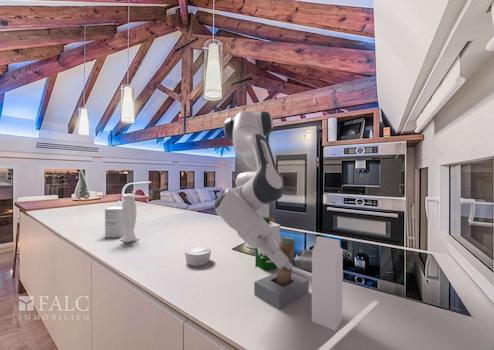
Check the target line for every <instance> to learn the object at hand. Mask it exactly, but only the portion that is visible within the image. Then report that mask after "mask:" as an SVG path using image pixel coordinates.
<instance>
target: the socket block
mask: <svg viewBox="0 0 494 350" xmlns="http://www.w3.org/2000/svg"><path fill="white" fill-rule="evenodd" d="M276 277H277V272H274V273H273V274H271V275H268V276H265V277H263V278H261V279H257V280H256V281H254V284H253V287H254V291H253V292H254V293H253V295H254V296H256V297H257V298H258V299H260V300H262V301H263V302H265V303H267V304H269V305H271V306H272V307H274V308H276V309H277V310H280V309H283V308H284V307H286V306H287V305H289V304H292V303H293V302H294V301H296V300H298V299H300V298H302V297H303V296H305V295H307V294H308V293H309V291H310V290H309V289H310V286H309V285H310V281H309V280H310V279H309V278H306V277H304V276H301V275H298V274H296V273H294V272H292V273H291V281H290V284H288V285H285V286H283V287H282V286H280V285H278V284H276Z"/></svg>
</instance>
